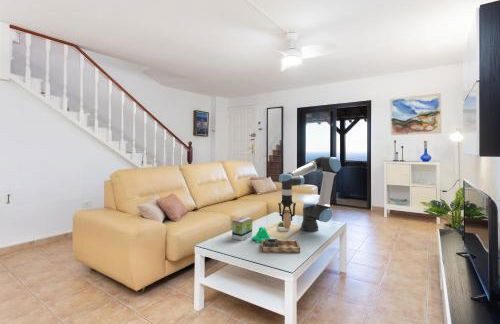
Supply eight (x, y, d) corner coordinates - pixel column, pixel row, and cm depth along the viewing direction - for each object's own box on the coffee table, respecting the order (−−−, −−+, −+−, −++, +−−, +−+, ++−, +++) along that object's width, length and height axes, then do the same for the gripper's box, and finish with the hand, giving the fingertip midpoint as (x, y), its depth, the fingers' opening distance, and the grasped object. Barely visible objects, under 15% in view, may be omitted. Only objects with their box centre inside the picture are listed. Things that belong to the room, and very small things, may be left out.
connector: (289, 226, 199) (289, 209, 198) (290, 228, 195) (289, 210, 194) (284, 227, 199) (284, 209, 198) (284, 228, 195) (284, 211, 194)
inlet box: (296, 245, 191) (296, 237, 191) (300, 252, 177) (300, 244, 177) (261, 244, 191) (261, 237, 191) (261, 252, 177) (261, 244, 177)
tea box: (242, 241, 199) (242, 222, 198) (231, 238, 204) (231, 220, 203) (252, 235, 211) (252, 217, 211) (242, 233, 217) (242, 215, 216)
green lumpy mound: (251, 240, 201) (251, 227, 200) (256, 237, 207) (257, 225, 206) (264, 243, 194) (264, 230, 193) (269, 240, 200) (270, 227, 199)
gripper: (297, 193, 198) (297, 223, 200) (275, 193, 199) (275, 223, 200) (299, 195, 191) (299, 226, 193) (275, 195, 191) (276, 226, 193)
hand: (287, 225), depth 197 cm, fingers closed on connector, 4 cm apart
